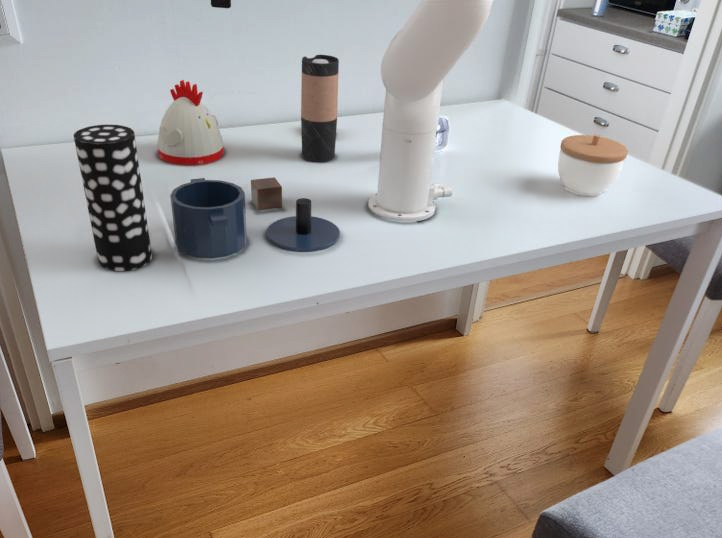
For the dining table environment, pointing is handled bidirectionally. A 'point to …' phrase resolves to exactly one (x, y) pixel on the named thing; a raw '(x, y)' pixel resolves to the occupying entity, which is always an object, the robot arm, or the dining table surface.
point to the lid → (303, 230)
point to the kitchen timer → (189, 130)
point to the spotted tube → (114, 196)
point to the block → (266, 193)
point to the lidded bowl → (590, 163)
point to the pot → (209, 218)
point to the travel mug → (319, 107)
